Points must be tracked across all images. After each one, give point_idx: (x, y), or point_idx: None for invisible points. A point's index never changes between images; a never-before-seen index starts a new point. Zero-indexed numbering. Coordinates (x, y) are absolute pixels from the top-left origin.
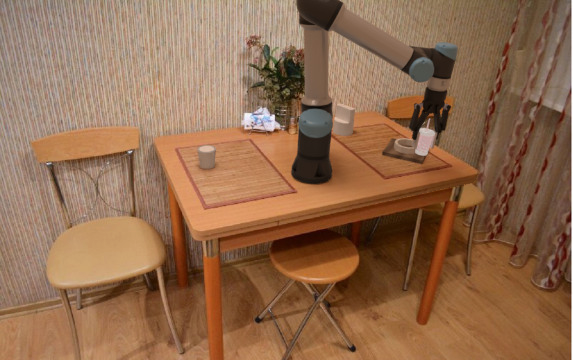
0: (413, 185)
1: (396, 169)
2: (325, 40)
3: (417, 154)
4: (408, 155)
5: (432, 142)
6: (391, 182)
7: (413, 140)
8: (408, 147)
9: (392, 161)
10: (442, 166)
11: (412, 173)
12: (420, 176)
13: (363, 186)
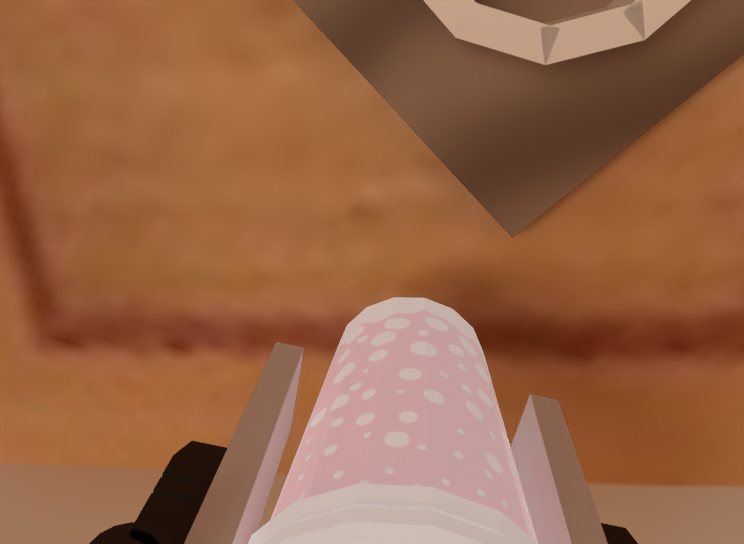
0: None
1: (204, 241)
2: None
3: (571, 86)
4: (444, 78)
5: None
6: (77, 395)
7: (249, 407)
8: (481, 7)
9: (243, 82)
10: (670, 324)
11: (306, 341)
12: None
13: None
